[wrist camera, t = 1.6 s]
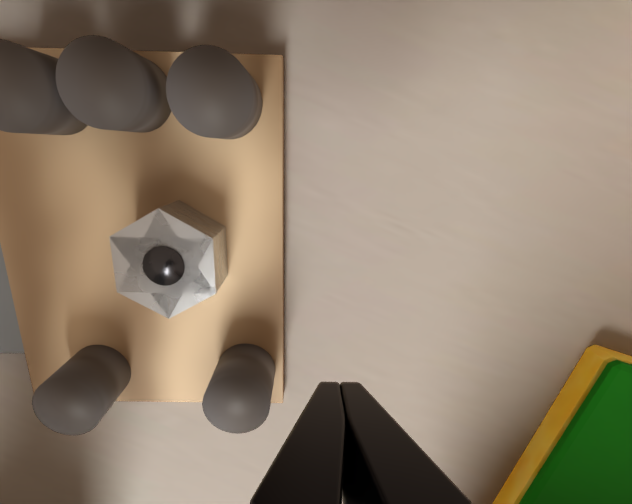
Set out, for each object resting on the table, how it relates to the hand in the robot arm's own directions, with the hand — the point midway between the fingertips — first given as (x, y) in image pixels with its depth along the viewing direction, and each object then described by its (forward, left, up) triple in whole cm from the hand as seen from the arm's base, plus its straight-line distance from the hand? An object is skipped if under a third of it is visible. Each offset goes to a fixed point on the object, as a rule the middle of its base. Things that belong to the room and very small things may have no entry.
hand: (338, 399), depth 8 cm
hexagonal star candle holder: (-7, 0, -11) cm, 13 cm away
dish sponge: (+17, -13, -13) cm, 25 cm away
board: (-9, 0, -12) cm, 15 cm away
